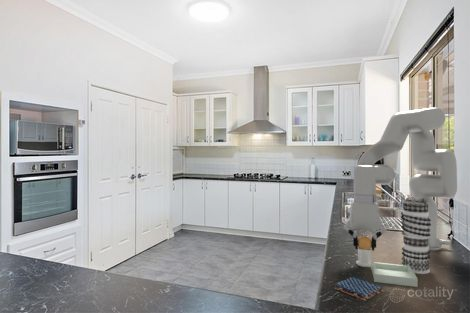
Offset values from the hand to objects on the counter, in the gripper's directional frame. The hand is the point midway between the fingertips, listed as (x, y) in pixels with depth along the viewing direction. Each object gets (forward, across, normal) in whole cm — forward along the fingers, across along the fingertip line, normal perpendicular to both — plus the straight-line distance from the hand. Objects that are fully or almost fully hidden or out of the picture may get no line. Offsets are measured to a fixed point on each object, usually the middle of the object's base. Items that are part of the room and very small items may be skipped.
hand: (364, 248), depth 115 cm
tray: (+6, -8, +10) cm, 14 cm away
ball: (+1, 0, 0) cm, 1 cm away
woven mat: (+7, +3, +24) cm, 25 cm away
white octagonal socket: (+6, 0, 0) cm, 6 cm away
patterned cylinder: (+6, -16, -1) cm, 18 cm away
